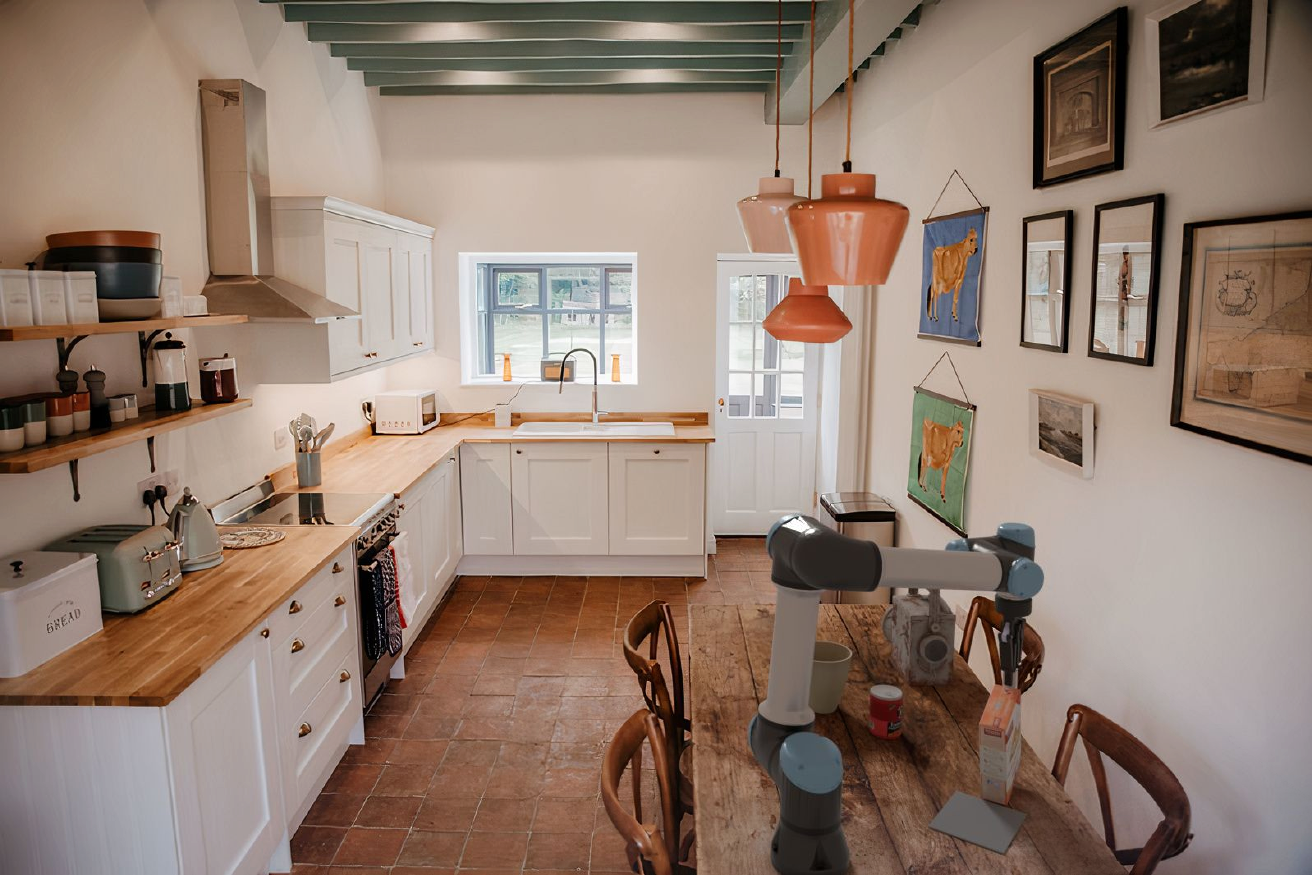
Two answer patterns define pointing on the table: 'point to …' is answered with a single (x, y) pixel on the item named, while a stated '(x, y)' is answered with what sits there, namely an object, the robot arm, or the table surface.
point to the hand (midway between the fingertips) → (1009, 697)
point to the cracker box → (1000, 744)
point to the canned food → (886, 711)
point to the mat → (978, 822)
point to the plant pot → (828, 675)
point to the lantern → (921, 637)
